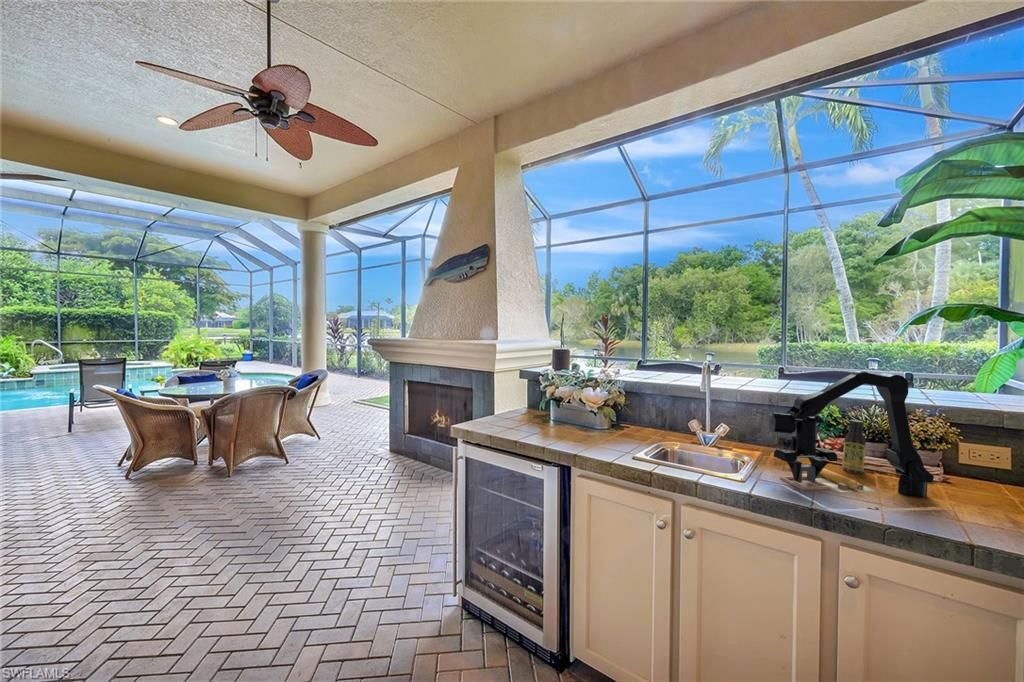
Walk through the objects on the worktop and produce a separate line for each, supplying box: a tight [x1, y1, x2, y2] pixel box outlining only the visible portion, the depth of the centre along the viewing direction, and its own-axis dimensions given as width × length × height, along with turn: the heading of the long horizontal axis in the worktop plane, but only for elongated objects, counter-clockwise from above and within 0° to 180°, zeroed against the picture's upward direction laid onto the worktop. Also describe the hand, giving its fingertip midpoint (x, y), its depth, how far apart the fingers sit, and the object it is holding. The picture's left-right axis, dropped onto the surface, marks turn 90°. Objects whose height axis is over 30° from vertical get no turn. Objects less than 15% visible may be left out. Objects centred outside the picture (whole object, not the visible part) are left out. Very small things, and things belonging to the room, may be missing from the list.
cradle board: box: [802, 473, 878, 493], centre depth 140 cm, size 17×13×2 cm
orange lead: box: [820, 467, 859, 489], centre depth 140 cm, size 15×3×3 cm, turn 4°
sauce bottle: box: [841, 419, 867, 474], centre depth 152 cm, size 7×6×20 cm
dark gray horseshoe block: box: [793, 464, 816, 484], centre depth 138 cm, size 6×2×5 cm, turn 94°
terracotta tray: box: [779, 475, 832, 491], centre depth 138 cm, size 10×10×2 cm
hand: (804, 479), depth 138 cm, fingers closed on dark gray horseshoe block, 6 cm apart
